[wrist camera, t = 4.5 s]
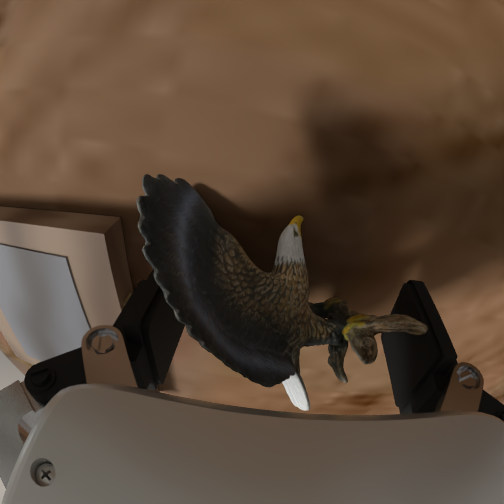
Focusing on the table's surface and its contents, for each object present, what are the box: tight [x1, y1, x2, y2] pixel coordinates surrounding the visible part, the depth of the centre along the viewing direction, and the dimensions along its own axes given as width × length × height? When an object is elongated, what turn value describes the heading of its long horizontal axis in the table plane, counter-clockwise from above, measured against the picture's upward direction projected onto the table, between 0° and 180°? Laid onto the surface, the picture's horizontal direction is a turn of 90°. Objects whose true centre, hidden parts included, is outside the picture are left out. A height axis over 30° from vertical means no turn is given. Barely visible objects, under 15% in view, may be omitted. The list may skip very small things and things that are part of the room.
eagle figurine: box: [137, 174, 428, 411], centre depth 10 cm, size 8×7×9 cm
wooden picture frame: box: [0, 206, 160, 392], centre depth 16 cm, size 14×14×2 cm
